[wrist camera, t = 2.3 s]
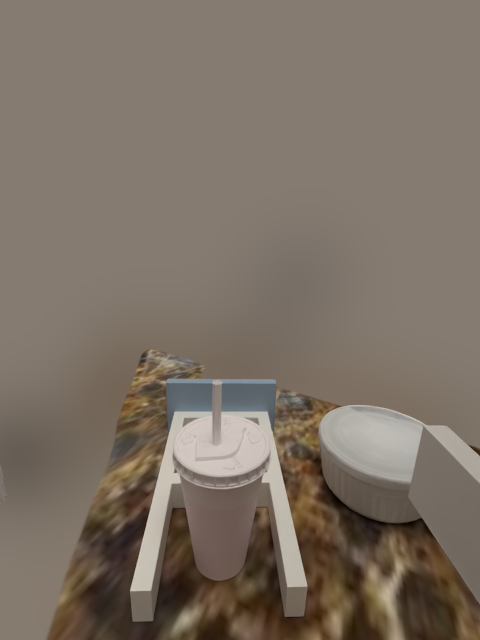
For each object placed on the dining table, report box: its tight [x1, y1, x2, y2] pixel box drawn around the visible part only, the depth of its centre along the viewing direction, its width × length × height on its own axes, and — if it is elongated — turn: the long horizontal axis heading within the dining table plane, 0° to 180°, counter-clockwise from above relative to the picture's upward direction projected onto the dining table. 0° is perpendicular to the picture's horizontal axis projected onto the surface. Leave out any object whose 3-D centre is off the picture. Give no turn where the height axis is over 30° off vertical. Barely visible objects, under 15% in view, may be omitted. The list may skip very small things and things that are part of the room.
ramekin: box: [318, 405, 427, 523], centre depth 32 cm, size 11×11×5 cm
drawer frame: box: [130, 379, 307, 622], centre depth 30 cm, size 12×20×6 cm, turn 3°
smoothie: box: [172, 380, 271, 581], centre depth 23 cm, size 6×6×14 cm
